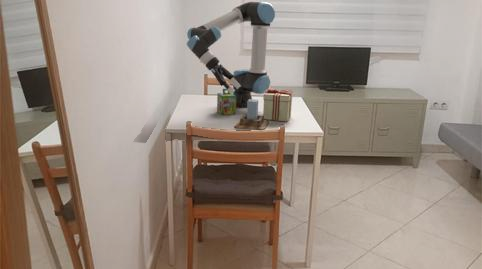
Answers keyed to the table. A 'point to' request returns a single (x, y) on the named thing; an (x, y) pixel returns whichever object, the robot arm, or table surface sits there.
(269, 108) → the gift box
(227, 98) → the chalk box
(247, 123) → the cradle
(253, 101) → the block
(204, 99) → the table surface
